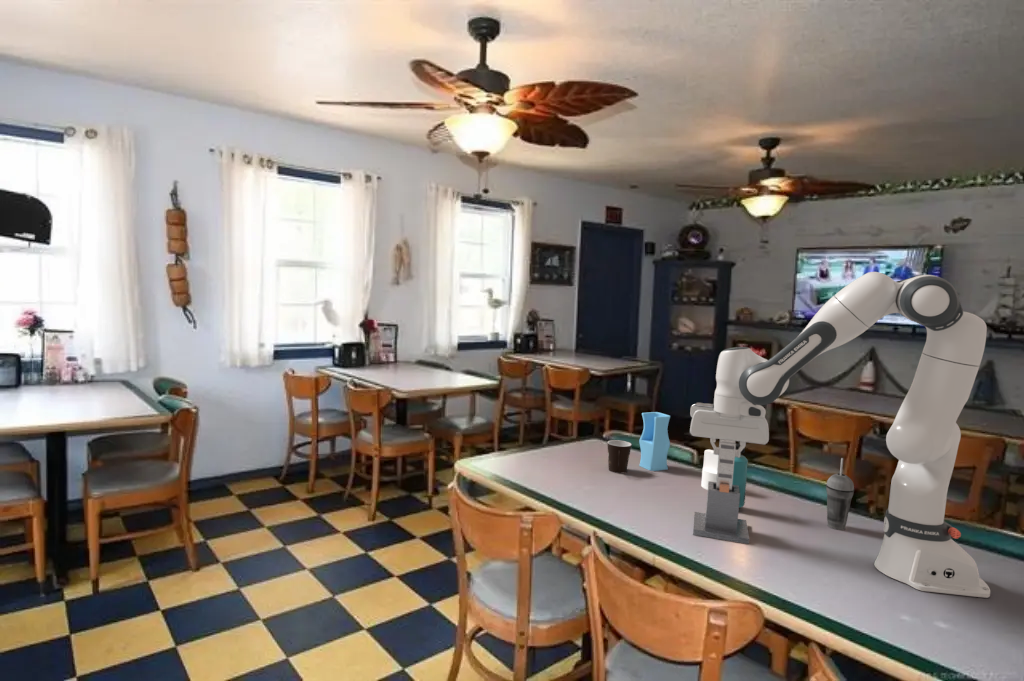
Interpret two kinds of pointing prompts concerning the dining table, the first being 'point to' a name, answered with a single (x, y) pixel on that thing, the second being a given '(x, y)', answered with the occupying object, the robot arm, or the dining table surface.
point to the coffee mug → (618, 455)
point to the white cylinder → (709, 468)
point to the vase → (654, 441)
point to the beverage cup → (838, 499)
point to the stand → (721, 515)
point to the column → (725, 463)
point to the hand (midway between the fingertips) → (726, 455)
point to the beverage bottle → (740, 475)
